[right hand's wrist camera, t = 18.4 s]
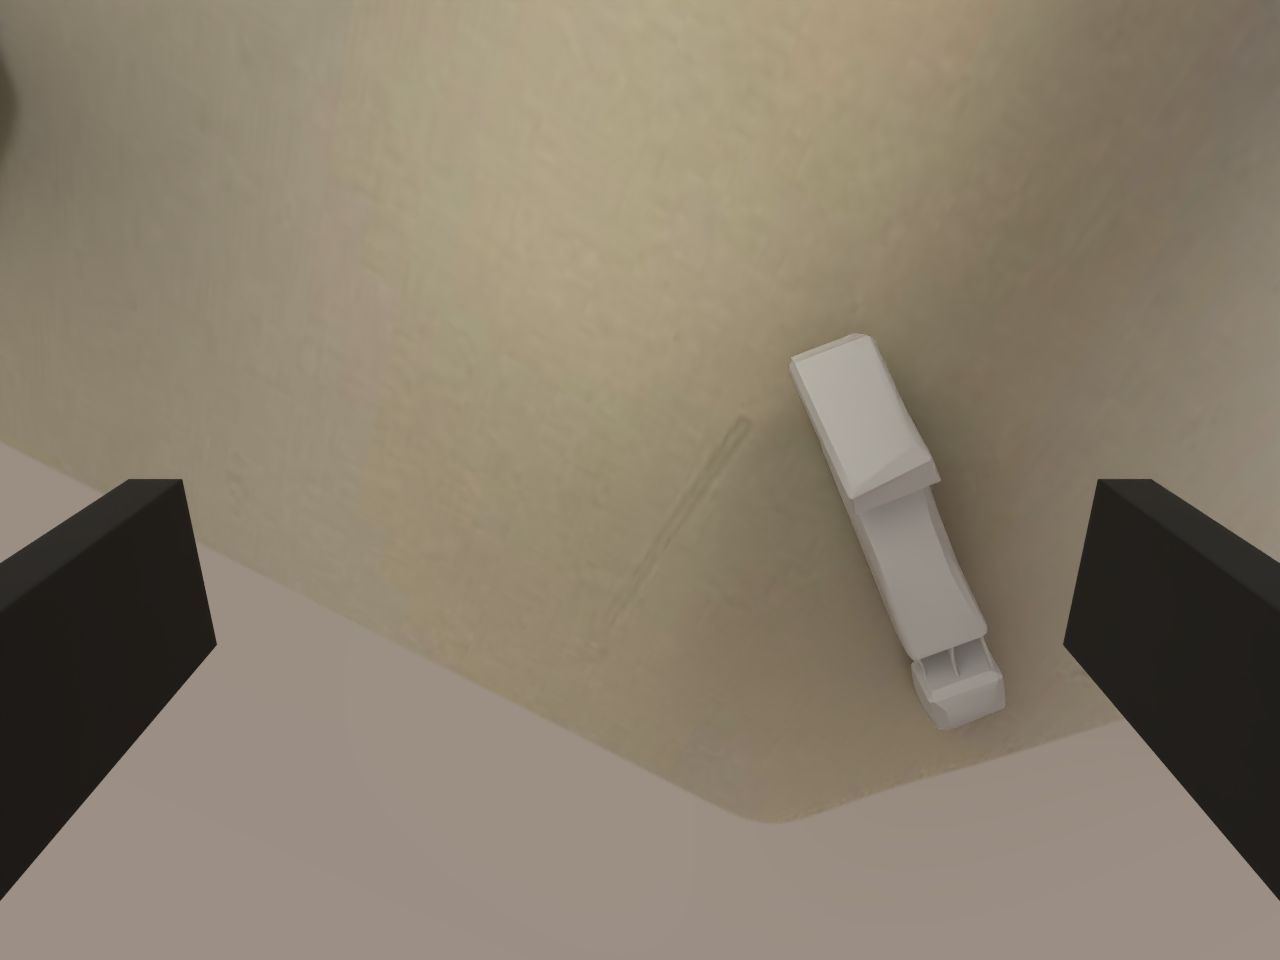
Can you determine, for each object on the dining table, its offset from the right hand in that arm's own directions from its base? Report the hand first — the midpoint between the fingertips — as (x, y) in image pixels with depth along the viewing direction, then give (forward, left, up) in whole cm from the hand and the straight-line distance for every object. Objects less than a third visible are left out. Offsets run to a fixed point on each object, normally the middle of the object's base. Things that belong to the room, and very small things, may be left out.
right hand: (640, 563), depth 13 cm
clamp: (+15, +6, -25) cm, 30 cm away
